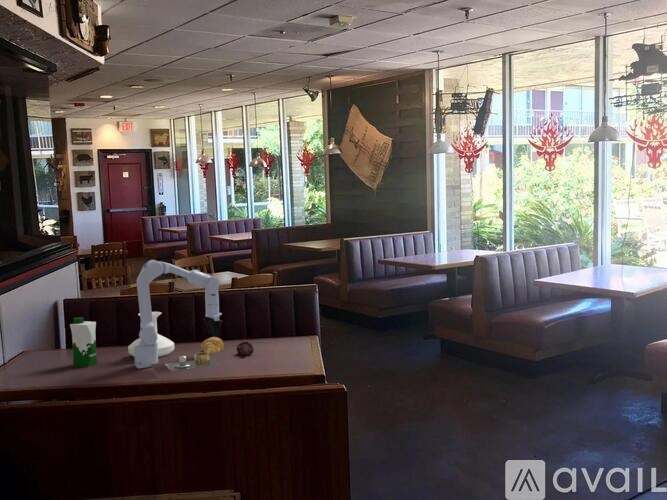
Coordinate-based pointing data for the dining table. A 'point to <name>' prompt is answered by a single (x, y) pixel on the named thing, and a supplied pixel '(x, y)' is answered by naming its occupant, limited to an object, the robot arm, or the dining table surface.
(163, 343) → the candle holder
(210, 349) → the croissant
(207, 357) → the ring
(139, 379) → the dining table surface
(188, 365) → the block
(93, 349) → the milk carton
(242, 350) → the icecream
